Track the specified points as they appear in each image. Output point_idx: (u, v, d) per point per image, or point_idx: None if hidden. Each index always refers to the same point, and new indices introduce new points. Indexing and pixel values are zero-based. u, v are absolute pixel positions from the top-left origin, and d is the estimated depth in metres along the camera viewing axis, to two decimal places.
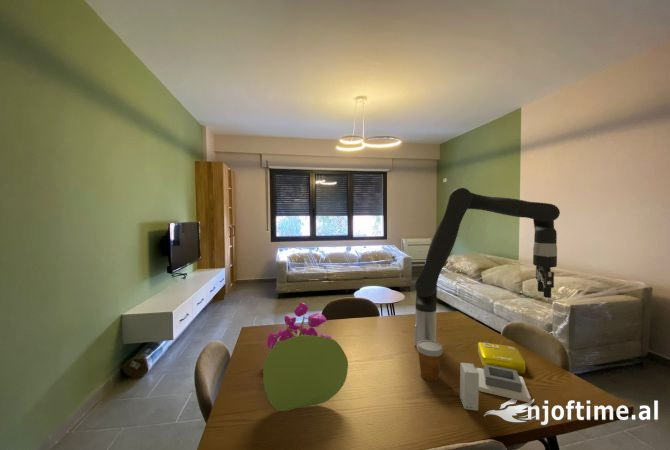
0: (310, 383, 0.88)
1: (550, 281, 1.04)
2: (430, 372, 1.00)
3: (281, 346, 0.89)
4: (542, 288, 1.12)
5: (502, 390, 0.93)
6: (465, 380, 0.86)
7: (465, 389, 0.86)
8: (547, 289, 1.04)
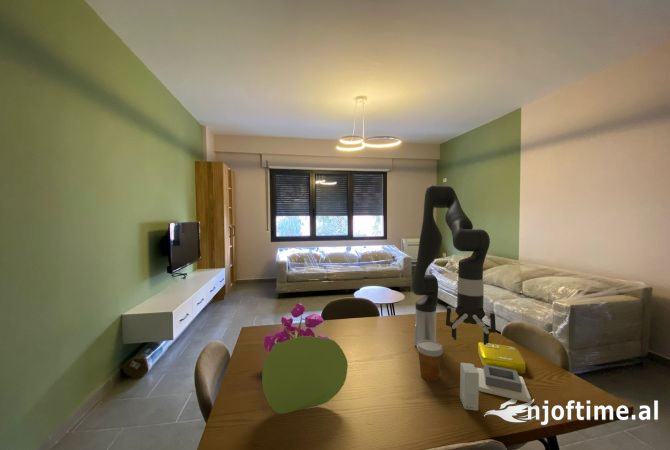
0: (310, 384, 0.87)
1: None
2: (430, 372, 1.00)
3: (280, 348, 0.88)
4: None
5: (502, 390, 0.93)
6: (465, 380, 0.86)
7: (465, 389, 0.86)
8: None
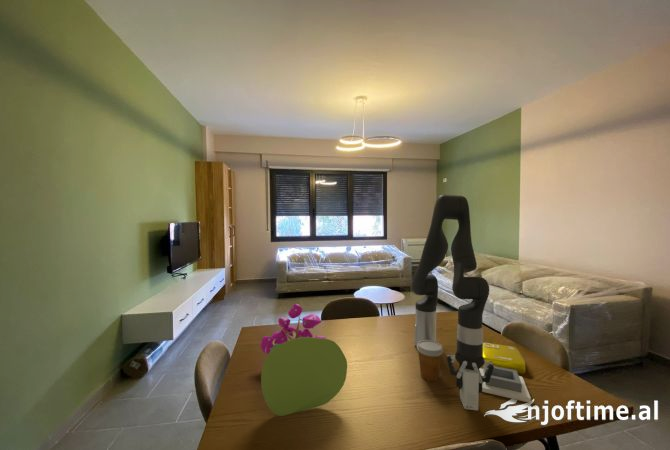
0: (309, 386, 0.86)
1: (479, 371, 0.88)
2: (430, 372, 1.00)
3: (279, 349, 0.87)
4: None
5: (502, 390, 0.93)
6: (465, 380, 0.86)
7: (465, 389, 0.86)
8: None
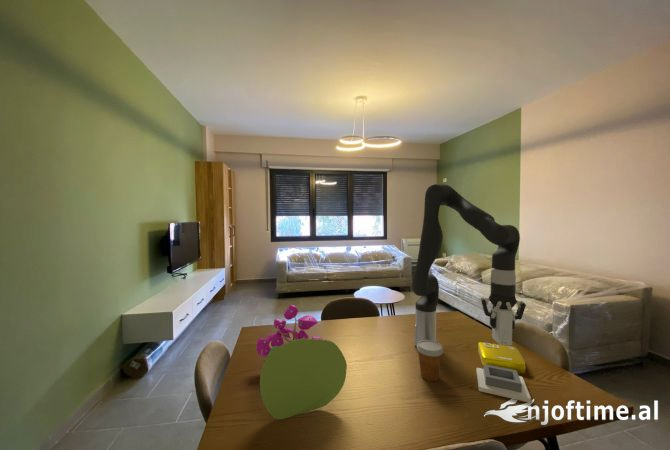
0: (309, 388, 0.85)
1: None
2: (430, 372, 1.00)
3: (278, 351, 0.85)
4: None
5: (502, 390, 0.93)
6: (500, 318, 0.94)
7: (500, 326, 0.94)
8: None
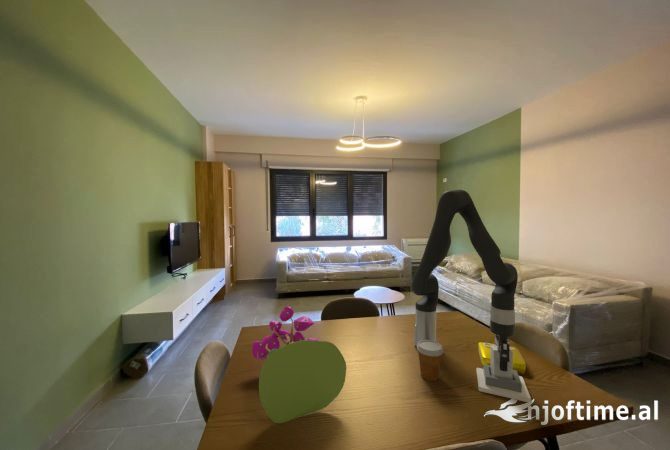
0: (309, 390, 0.84)
1: None
2: (430, 372, 1.00)
3: (277, 354, 0.84)
4: None
5: (502, 390, 0.93)
6: None
7: None
8: None
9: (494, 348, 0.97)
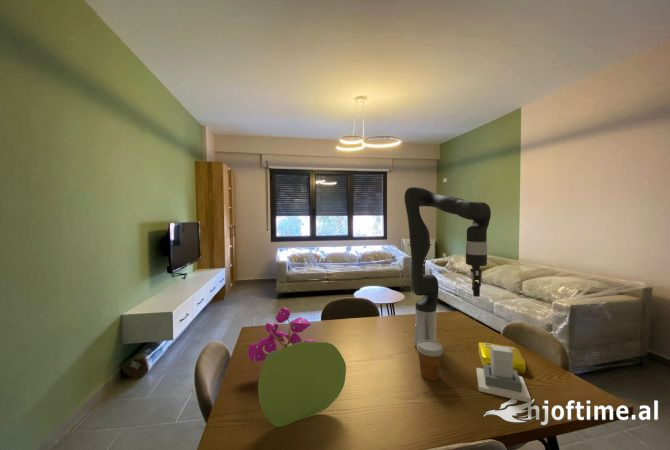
0: (309, 392, 0.83)
1: None
2: (430, 372, 1.00)
3: (277, 356, 0.82)
4: None
5: (502, 390, 0.93)
6: None
7: None
8: None
9: (494, 348, 0.97)
